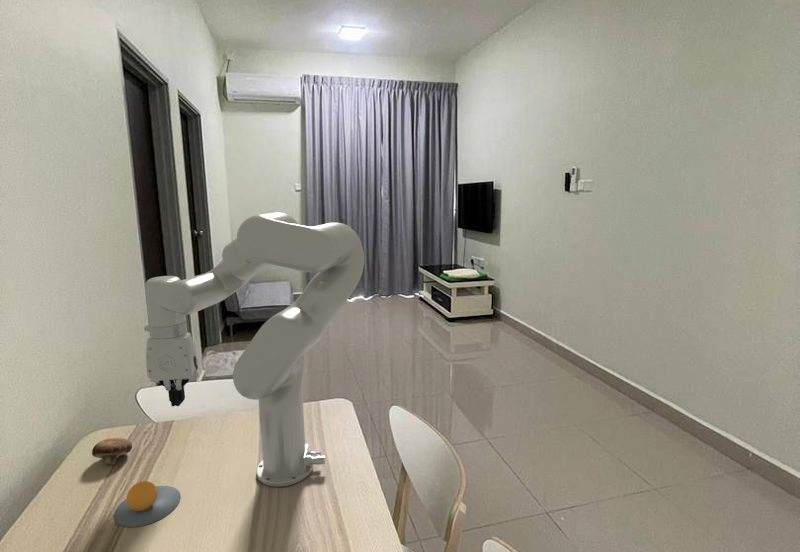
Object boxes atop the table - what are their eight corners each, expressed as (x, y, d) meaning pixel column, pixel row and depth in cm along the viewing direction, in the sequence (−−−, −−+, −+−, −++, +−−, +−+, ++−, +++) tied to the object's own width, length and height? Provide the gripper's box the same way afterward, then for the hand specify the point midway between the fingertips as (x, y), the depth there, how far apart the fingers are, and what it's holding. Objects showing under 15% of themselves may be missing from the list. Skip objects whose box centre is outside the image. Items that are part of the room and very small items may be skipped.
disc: (189, 485, 100) (189, 484, 100) (165, 525, 88) (165, 524, 88) (133, 487, 99) (133, 487, 99) (101, 528, 87) (100, 527, 87)
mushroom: (108, 463, 103) (108, 434, 105) (82, 471, 105) (83, 443, 107) (139, 461, 110) (139, 434, 112) (114, 468, 112) (115, 442, 114)
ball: (161, 475, 95) (147, 488, 90) (163, 501, 95) (149, 515, 90) (135, 477, 95) (119, 490, 90) (137, 503, 95) (121, 517, 90)
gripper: (127, 336, 101) (137, 412, 104) (196, 334, 102) (204, 410, 105) (143, 325, 108) (152, 397, 112) (208, 324, 109) (215, 395, 113)
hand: (177, 403), depth 109 cm, fingers closed
